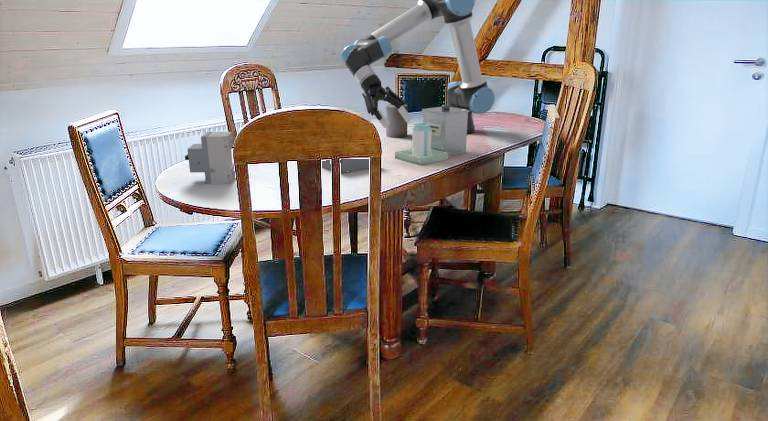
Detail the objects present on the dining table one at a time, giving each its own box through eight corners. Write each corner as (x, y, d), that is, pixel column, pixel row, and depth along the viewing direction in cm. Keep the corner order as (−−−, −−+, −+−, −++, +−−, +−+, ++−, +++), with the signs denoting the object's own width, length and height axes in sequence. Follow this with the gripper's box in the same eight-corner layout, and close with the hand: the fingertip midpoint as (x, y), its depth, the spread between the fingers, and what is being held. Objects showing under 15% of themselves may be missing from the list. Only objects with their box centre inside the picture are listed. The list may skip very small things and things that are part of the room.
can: (409, 155, 205) (409, 123, 201) (426, 153, 207) (427, 122, 203) (416, 159, 198) (416, 126, 194) (433, 158, 200) (434, 125, 197)
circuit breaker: (191, 177, 176) (186, 132, 172) (236, 177, 178) (232, 131, 173) (185, 184, 169) (180, 136, 165) (232, 183, 171) (228, 136, 166)
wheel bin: (354, 159, 202) (354, 143, 200) (377, 166, 191) (377, 149, 190) (318, 165, 192) (317, 149, 190) (340, 173, 182) (340, 156, 180)
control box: (443, 147, 221) (445, 102, 215) (467, 153, 212) (469, 105, 206) (420, 152, 213) (421, 104, 207) (443, 157, 204) (445, 108, 198)
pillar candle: (408, 134, 249) (408, 100, 244) (405, 138, 240) (406, 103, 235) (387, 133, 251) (387, 100, 246) (384, 137, 241) (383, 103, 237)
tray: (422, 152, 212) (422, 146, 211) (447, 159, 202) (448, 152, 201) (394, 158, 204) (395, 151, 203) (420, 165, 193) (420, 158, 193)
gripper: (384, 84, 221) (412, 124, 217) (340, 89, 204) (371, 134, 199) (394, 71, 216) (423, 112, 212) (350, 76, 199) (382, 121, 194)
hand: (398, 123), depth 206 cm, fingers open, 13 cm apart
